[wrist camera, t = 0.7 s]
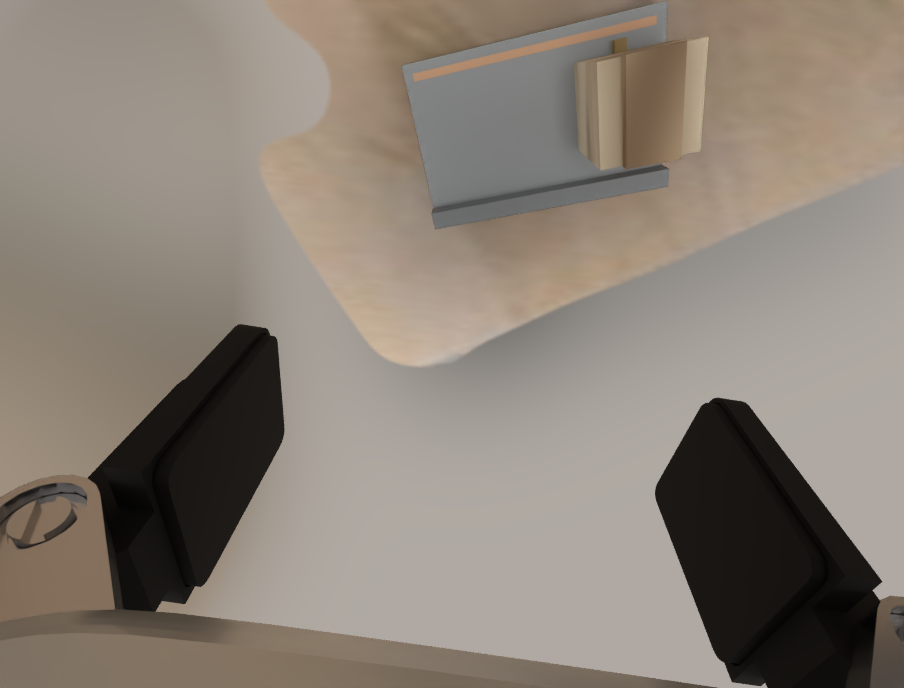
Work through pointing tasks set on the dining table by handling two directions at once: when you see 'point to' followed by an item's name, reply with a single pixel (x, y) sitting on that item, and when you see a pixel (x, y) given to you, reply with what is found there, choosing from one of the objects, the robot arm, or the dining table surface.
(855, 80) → the dining table surface
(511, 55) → the board
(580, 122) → the tan wooden block
